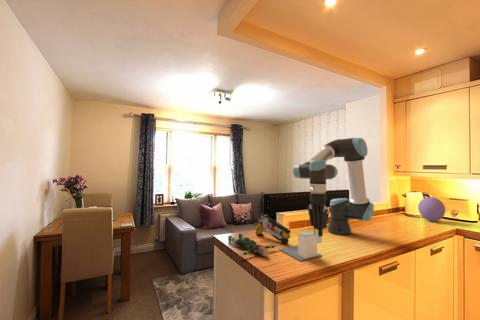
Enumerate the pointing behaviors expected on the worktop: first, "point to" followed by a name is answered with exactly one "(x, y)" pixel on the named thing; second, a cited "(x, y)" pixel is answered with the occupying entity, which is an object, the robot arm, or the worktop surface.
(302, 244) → the cream rectangular block
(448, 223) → the worktop surface
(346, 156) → the robot arm
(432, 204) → the ball
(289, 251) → the mat
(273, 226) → the toy gun
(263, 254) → the figurine
